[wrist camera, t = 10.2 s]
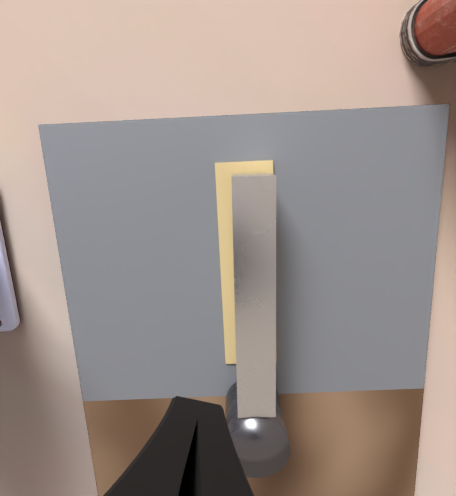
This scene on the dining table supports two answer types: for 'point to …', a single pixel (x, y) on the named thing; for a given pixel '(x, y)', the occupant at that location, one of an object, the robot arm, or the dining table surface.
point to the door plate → (221, 247)
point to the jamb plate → (290, 441)
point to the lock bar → (255, 329)
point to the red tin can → (430, 32)
